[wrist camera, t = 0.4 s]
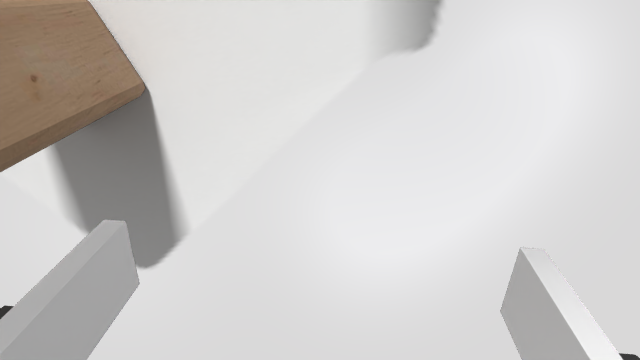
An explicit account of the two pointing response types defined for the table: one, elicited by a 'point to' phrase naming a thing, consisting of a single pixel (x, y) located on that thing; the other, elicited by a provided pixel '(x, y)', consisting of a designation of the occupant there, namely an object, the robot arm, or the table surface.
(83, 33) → the wooden block
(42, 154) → the table surface
